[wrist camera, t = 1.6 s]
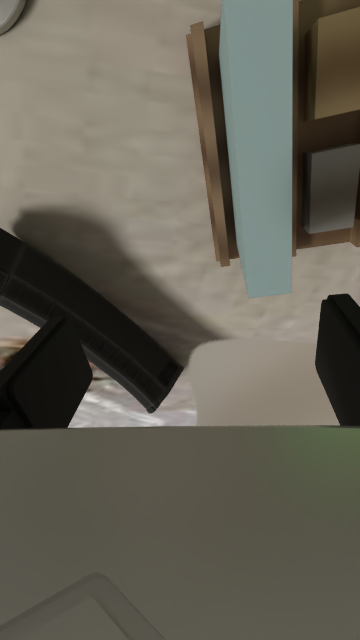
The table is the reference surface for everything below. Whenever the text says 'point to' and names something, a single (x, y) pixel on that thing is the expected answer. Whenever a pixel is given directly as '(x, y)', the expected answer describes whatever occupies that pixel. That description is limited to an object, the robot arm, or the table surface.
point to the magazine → (85, 321)
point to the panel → (259, 137)
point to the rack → (304, 134)
